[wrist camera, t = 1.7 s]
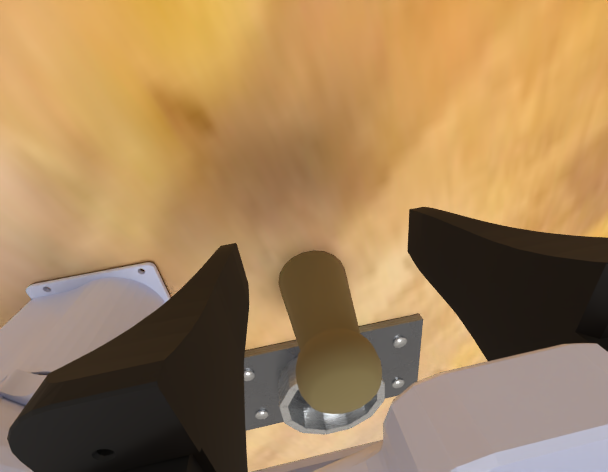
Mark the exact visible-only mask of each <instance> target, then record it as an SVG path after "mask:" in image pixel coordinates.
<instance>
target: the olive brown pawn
mask: <svg viewBox="0 0 608 472" xmlns="http://www.w3.org/2000/svg"><path fill="white" fill-rule="evenodd" d="M279 287H280V291H281V294H282V297H283V300H284V303H285V306H286V309H287V312H288V315H289V318H290V321H291V324H292V327H293V330H294V334H295V337H296V340H297V343H298V346H299V349H300V352H299V354H298V358H297V363H296V370H295V372H296V380H297V385H298V388H299V391H300V393H301V396H302V397H303V398H304V399H305V401H306V402H307V403H308V404H309V405H310V406H311V407H312V408H313V409H315V410H317V411H319V412H323V413H328V414H343V413H347V412H352V411H354V410H356V409H359V408H361V407H362V406H364V405H365V404H367V403H368V402H369V401H371V400H372V398H373V397H374V396H375V395H376V394H377V392H378V390H379V388H380V386H381V380H382V367H381V361H380V359H379V357H378V355H377V352H376V351H375V349H374V347H373V345H372V344H371V343H370V342H369V340H368V339H367V338H365V337H364V336H363V335H361V334H360V331H359V327H358V323H357V319H356V314H355V310H354V306H353V302H352V298H351V294H350V290H349V285H348V281H347V277H346V273H345V269H344V267H343V265H342V263H341V261H340V260H339V259H337V258H336V257H335V256H334V255H332V254H329V253H327V252H323V251H310V252H304V253H301V254H299V255H297V256H295V257H293V258H292V259H291V260H290V261H289V262H288V263H286V264H285V266H284V267H283V269H282V271H281V273H280V276H279Z"/></svg>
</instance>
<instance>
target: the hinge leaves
mask: <svg viewBox="0 0 608 472" xmlns="http://www.w3.org/2000/svg"><path fill="white" fill-rule="evenodd" d="M422 325H423V319H422V317H421V316H420V314H416V315H411V316H407V317H402V318H397V319H393V320H388V321H383V322H378V323H374V324H369V325H364V326H360V327H359V331H360V334H361V335H363V336H364V337H365V338H367V339H368V340H369V342H370V343H371V344H372V345H373V347H374V349H375V351H376V352H377V355H378V357H379V359H380V361H381V367H382V380H381V386H380V388H379V390H378V392H377V394H376V395H375V396H374V397H373V398H372V400H371V401H369V402H368V403H367V404H365V405H364V406H362V407H361V408H359V409H356V410H354V411H352V412H347V413H343V414H328V413H323V412H319V411H317V410H315V409H313V408H312V407H311V406H310V405H309V404H308V403H307V402H306V401H305V399H304V398H303V397H302V396H301V393H300V391H299V388H298V385H297V380H296V372H295V370H296V363H297V358H298V354H299V352H300V349H299V346H298V343H297V340H294V341H289V342H285V343H280V344H275V345H271V346H266V347H261V348H257V349H252V350H247V351H245V355H244V397H245V428H246V430H250V429H255V428H259V427H263V426H268V425H272V424H276V423H281V422H284V423H285V424H287V425H289V426H290V427H292V428H294V429H296V430H297V431H299V432H302V433H312V434H325V433H326V434H329V433H334V432H338V431H342V430H346V429H350V428H352V427H354V426H356V425H357V424H359V423H361V422H363V421H364V420H366V419H368V418H370V417H371V416H372V415H373V414H374V413H375V412H376V410H377V409H378V408H379V406H380V405H381V404H382V403H383V401H384V399H385V398H389V397H393V396H398V395H400V394H401V393H402V392H403V391H404V390H406V389H407V388H408V387H409V386H410V385H412V384H413V383H415V382H417V379H418V368H419V357H420V346H421V336H422Z"/></svg>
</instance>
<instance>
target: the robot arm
mask: <svg viewBox="0 0 608 472" xmlns="http://www.w3.org/2000/svg"><path fill="white" fill-rule="evenodd" d="M408 253H409V254H410V256H411V258H412V260H413V261H414V263H415V264H416V266H417V267H418V269H419V270H420V272H421V273H422V274H423V275H424V276H425V278H426V279H427V280H428V281H429V282H430V284H431V285H432V286H433V287H434V288H435V289H436V290H437V292H438V293H439V294H440V295H441V296H442V297H443V299H444V300H445V301H446V302H447V303H448V304H449V306H450V307H451V308H452V309H453V310H454V312H455V313H456V314H457V315H458V317H459V318H460V320H461V321H462V322H463V324H464V325H465V327H466V328H467V330H468V331H469V333H470V334H471V336H472V337H473V339H474V340H475V342H476V343H477V345H478V346H479V348H480V349H481V351H482V353H483V354H484V356H485V357H486V359H487V360H488V362H484V363H479V364H475V365H471V366H466V367H462V368H458V369H453V370H449V371H445V372H440V373H438V374H435V375H433V376H430V377H428V378H425V379H423V380H420V381H418V382H415V383H413V384H412V385H410V386H409V387H408V388H407V389H406V390H404V391H403V392H402V393H401V394H400V395H398V396H397V397H396V398H395V399H394V400H393V402H392V404H391V406H390V408H389V411H388V413H387V416H386V418H385V420H384V423H383V440H380V441H376V442H372V443H368V444H364V445H359V446H355V447H351V448H347V449H343V450H339V451H335V452H331V453H327V454H322V455H318V456H314V457H310V458H306V459H302V460H298V461H294V462H290V463H286V464H281V465H277V466H273V467H269V468H265V469H261V470H257V471H253V472H608V238H602V237H585V236H572V235H562V234H552V233H544V232H536V231H530V230H524V229H517V228H512V227H507V226H502V225H497V224H493V223H488V222H484V221H480V220H476V219H472V218H468V217H465V216H461V215H457V214H454V213H450V212H446V211H442V210H438V209H434V208H429V207H420V208H415V209H410V210H409V233H408ZM140 269H144V270H145V271H141V270H140ZM47 287H49V288H50V289H49V288H47ZM26 293H27V294H28V295H29V297H30V298H31V300H30V301H29V302H28V303H27V304H26V305H25V306H24V307H23V308H22V309H21V310H20V311H19V312H18V313H17V314H16V315H14V316H13V317H12V318H11V319H10V320H9V321H8V322H7V323H6V324H5V325H4V326H3V327H2V328H1V329H0V472H248V469H247V452H246V428H245V397H244V355H245V344H246V334H247V323H248V312H249V289H248V281H247V278H246V274H245V271H244V268H243V264H242V261H241V257H240V254H239V251H238V247H237V244H236V243H234V244H229V245H223V246H220V247H219V248H218V249H217V251H216V252H215V253H214V254H213V255H212V256H211V258H210V259H209V260H208V261H207V262H206V263H205V264H204V265H203V267H202V268H201V269H200V270H199V271H198V272H197V273H196V274H195V275H194V276H193V277H192V278H191V279H190V280H189V281H188V282H187V283H186V284H185V285H184V286H183V287H182V288H181V289H180V290H179V291H178V292H177V293H176V294H175V295H174V296H173V297H170V295H169V293H168V291H167V289H166V287H165V285H164V282H163V280H162V278H161V276H160V274H159V272H158V270H157V268H156V266H155V265H154V264H153V263H150V262H147V263H141V264H136V265H131V266H125V267H120V268H115V269H110V270H104V271H99V272H94V273H89V274H83V275H78V276H73V277H67V278H62V279H57V280H52V281H46V282H41V283H36V284H31V285H30V286H28V287H27V288H26Z"/></svg>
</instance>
